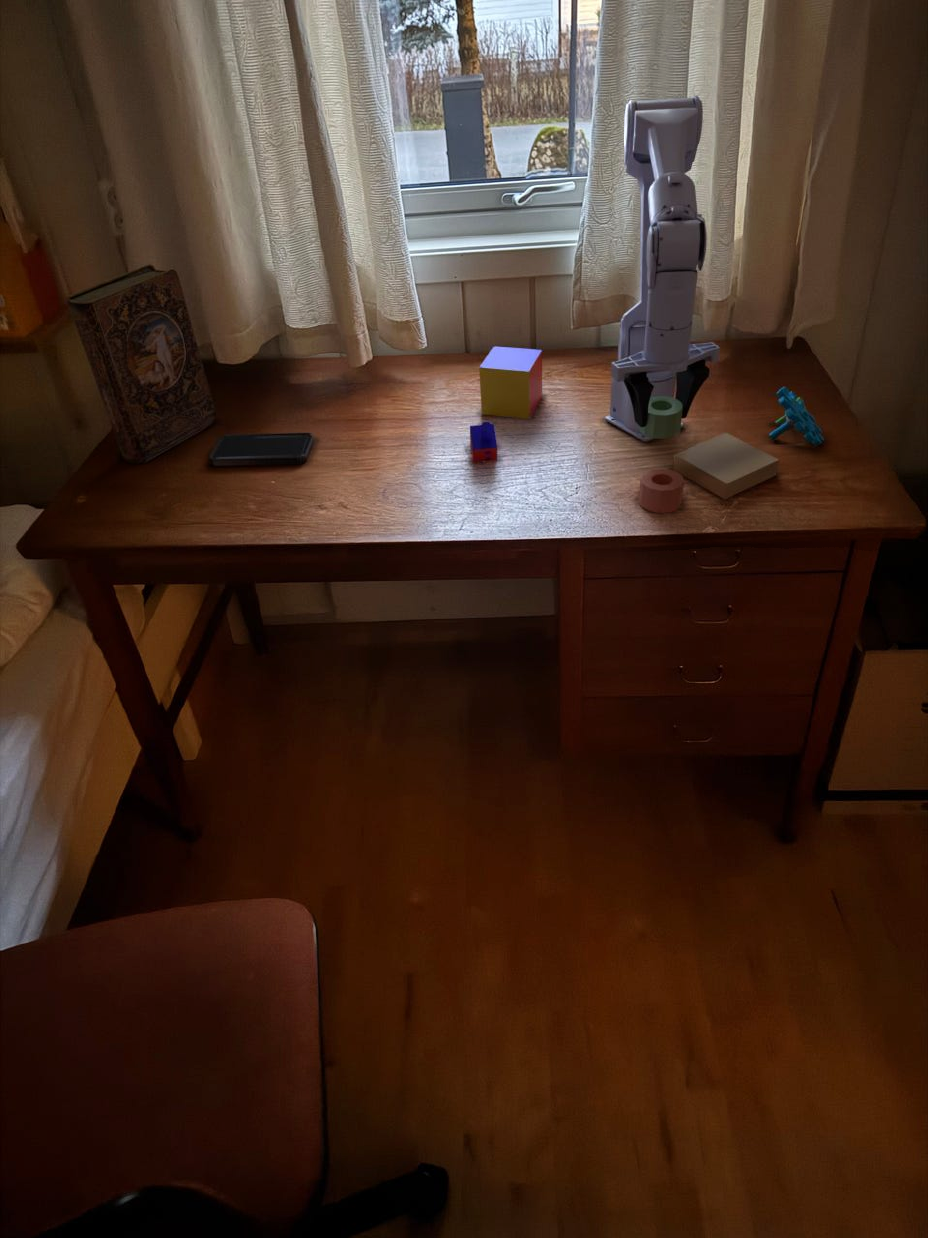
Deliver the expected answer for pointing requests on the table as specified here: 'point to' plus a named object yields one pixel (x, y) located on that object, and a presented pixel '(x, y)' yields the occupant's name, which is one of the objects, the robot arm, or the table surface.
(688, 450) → the birch block
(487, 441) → the toy building block
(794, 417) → the gear
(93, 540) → the table surface
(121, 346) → the book
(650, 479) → the coral ring
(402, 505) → the table surface
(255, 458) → the phone
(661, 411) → the green ring
